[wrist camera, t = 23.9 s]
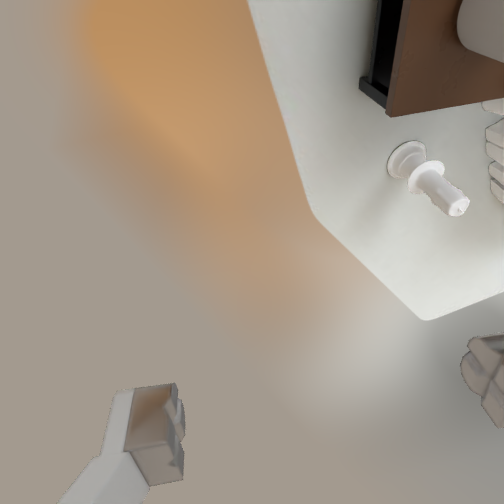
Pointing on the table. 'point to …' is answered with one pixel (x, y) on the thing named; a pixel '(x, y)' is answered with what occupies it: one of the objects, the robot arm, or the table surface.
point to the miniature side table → (426, 60)
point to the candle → (426, 178)
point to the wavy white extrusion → (496, 147)
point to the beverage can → (482, 27)
